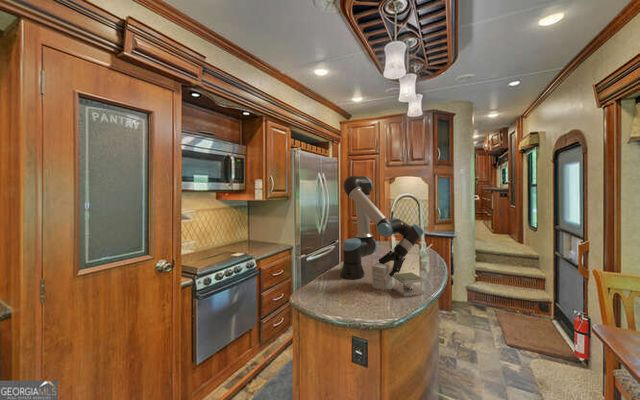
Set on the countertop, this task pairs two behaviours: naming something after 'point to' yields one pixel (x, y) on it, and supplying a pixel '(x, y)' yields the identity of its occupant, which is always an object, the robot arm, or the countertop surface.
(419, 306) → the countertop surface
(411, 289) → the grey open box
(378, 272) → the supplement box
